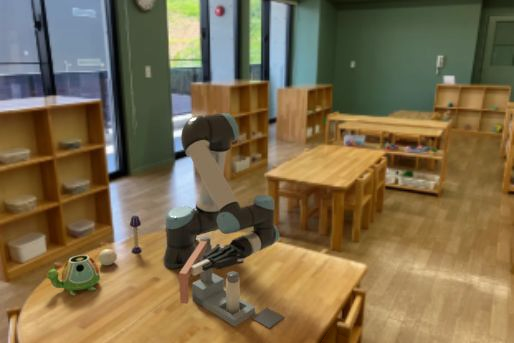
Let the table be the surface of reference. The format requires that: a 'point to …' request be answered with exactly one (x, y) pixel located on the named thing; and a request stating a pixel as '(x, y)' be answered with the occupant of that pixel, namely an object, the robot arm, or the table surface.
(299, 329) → the table surface
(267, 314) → the mat
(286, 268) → the table surface
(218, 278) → the dock
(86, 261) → the turtle holder
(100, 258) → the cream oval egg shape
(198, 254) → the pink bent bar
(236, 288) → the bottle
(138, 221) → the toy lamp
